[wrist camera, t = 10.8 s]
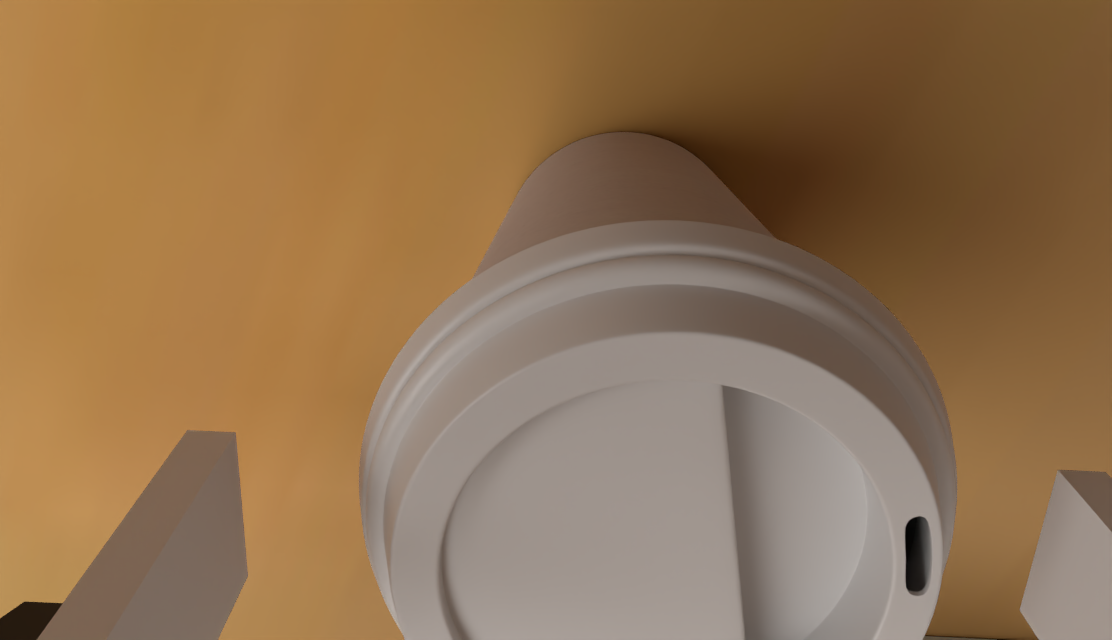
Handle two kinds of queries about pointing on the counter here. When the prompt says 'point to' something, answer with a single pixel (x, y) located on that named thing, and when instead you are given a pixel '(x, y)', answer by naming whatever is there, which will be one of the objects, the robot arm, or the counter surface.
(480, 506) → the coffee cup
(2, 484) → the counter surface
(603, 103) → the counter surface
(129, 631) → the robot arm
